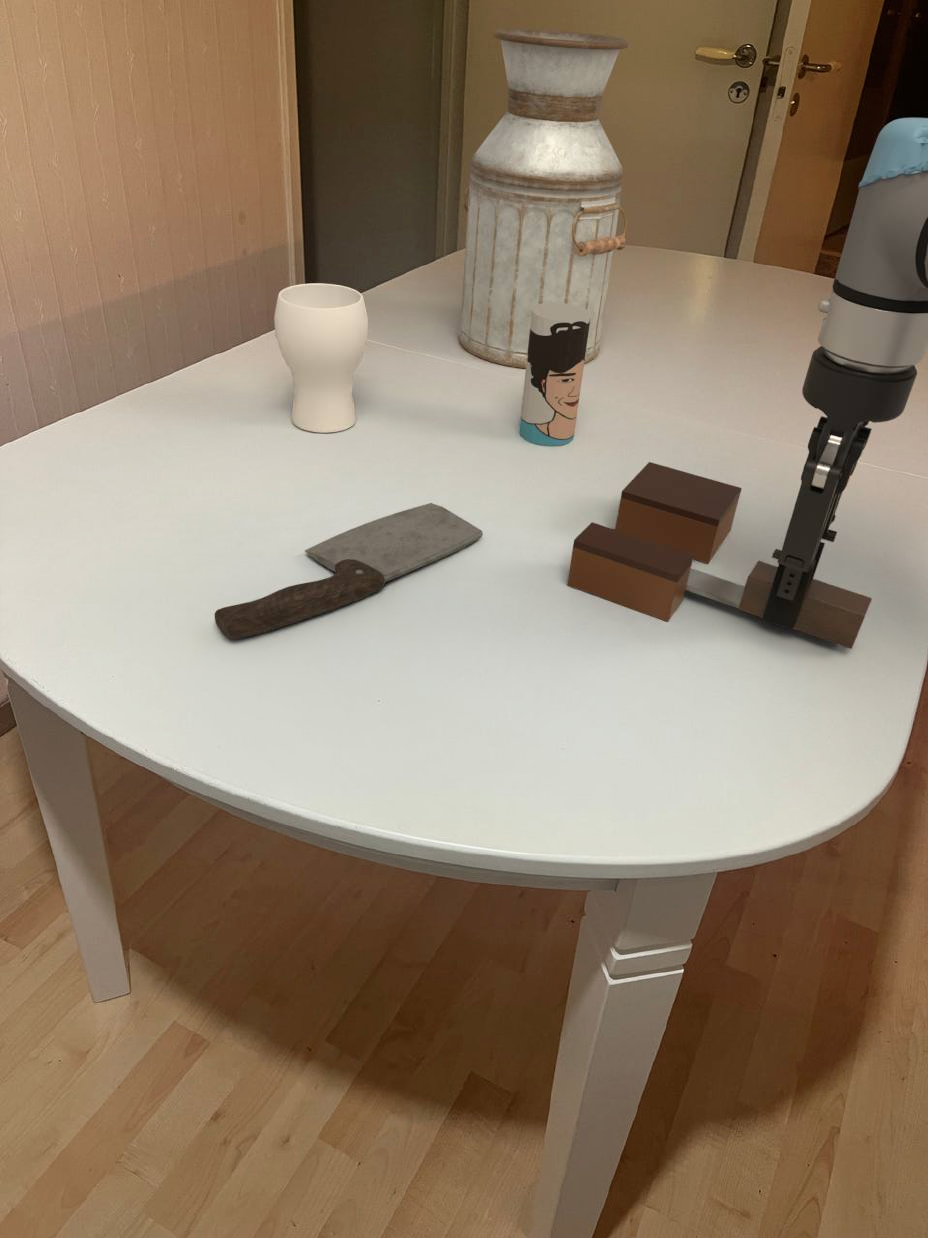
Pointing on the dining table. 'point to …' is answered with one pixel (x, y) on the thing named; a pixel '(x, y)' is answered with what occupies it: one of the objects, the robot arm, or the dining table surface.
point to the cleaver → (355, 567)
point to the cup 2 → (554, 373)
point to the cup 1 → (322, 351)
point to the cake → (678, 510)
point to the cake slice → (629, 571)
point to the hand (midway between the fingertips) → (783, 611)
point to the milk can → (542, 195)
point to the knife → (820, 611)
